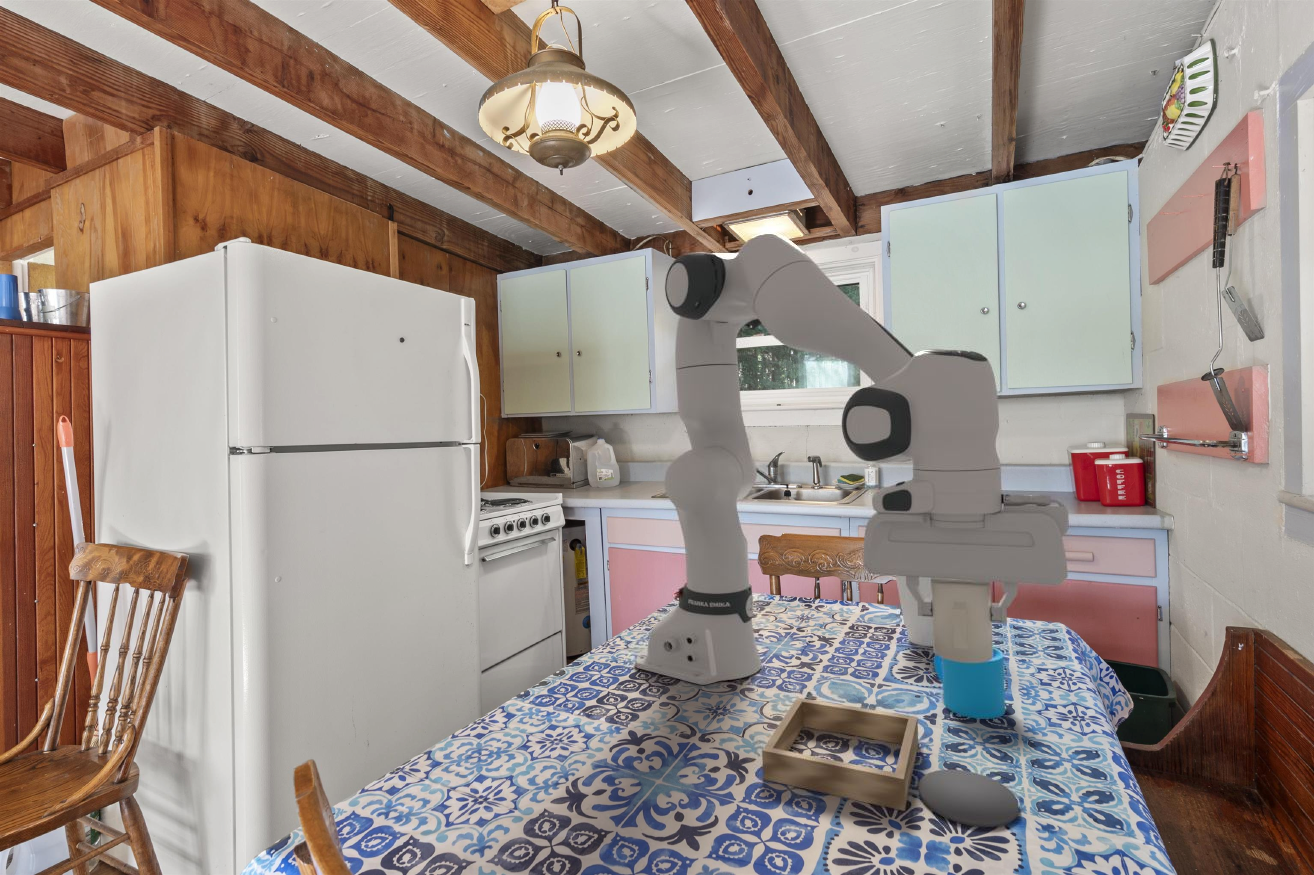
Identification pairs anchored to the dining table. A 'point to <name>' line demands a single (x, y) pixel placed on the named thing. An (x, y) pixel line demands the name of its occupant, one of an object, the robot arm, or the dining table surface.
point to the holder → (841, 775)
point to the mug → (973, 686)
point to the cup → (915, 612)
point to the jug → (962, 620)
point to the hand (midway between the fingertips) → (961, 618)
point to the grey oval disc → (968, 798)
